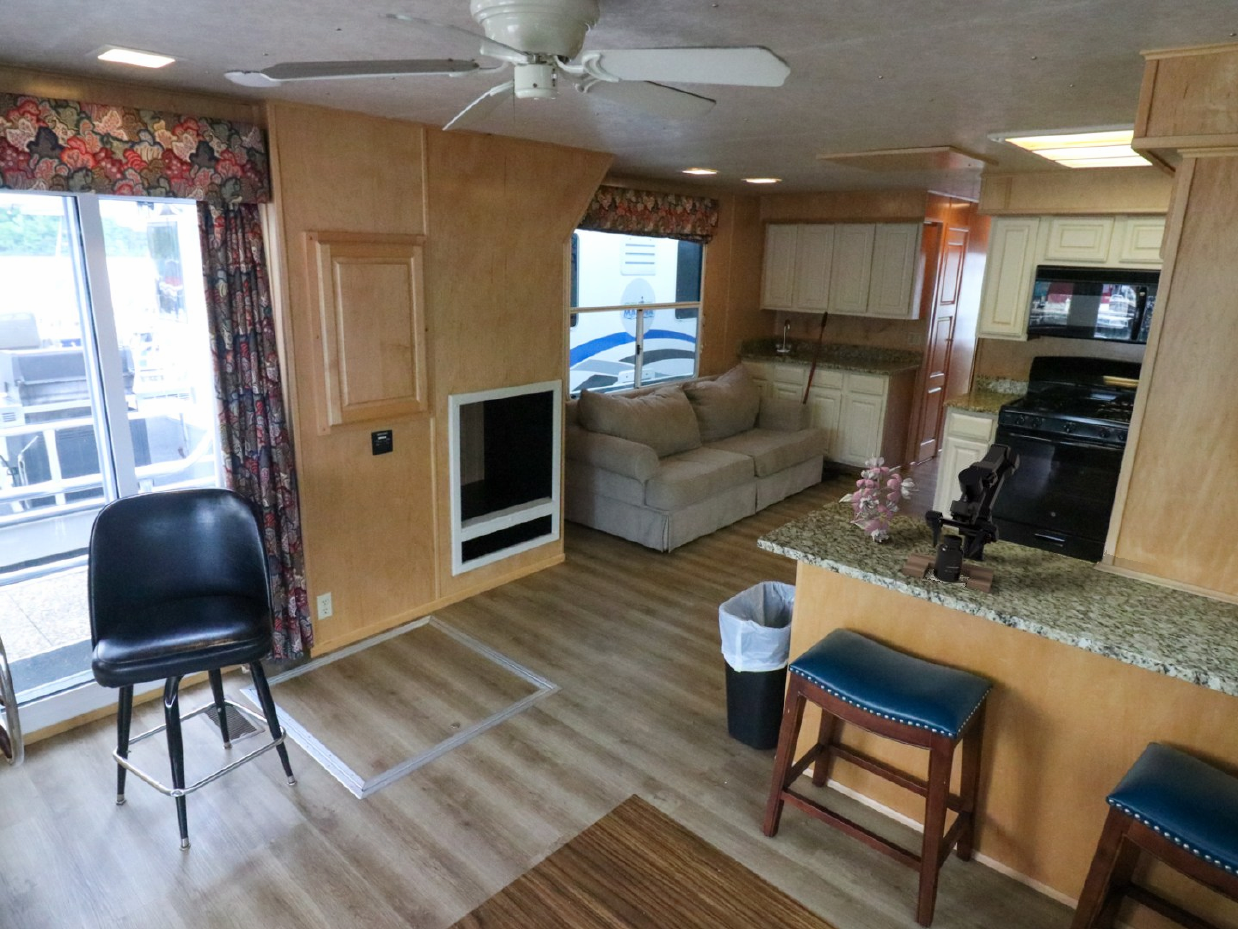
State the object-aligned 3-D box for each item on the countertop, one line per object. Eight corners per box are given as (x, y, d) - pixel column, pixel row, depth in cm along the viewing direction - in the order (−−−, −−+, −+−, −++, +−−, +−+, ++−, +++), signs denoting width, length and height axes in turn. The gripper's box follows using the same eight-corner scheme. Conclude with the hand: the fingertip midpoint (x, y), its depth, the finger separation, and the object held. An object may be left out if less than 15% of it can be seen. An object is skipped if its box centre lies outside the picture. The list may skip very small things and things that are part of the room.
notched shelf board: (911, 558, 225) (912, 552, 225) (993, 575, 215) (994, 569, 214) (902, 574, 214) (903, 567, 213) (988, 593, 203) (989, 586, 202)
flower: (813, 526, 244) (852, 466, 231) (839, 503, 262) (876, 446, 248) (867, 566, 237) (910, 506, 224) (890, 539, 255) (932, 482, 241)
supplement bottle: (950, 585, 207) (957, 543, 204) (927, 576, 212) (934, 535, 209) (964, 579, 211) (971, 538, 207) (941, 571, 216) (948, 531, 213)
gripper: (931, 481, 215) (912, 528, 209) (1003, 496, 203) (984, 546, 198) (937, 502, 223) (918, 548, 217) (1006, 517, 211) (988, 566, 206)
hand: (951, 551), depth 209 cm, fingers open, 9 cm apart
